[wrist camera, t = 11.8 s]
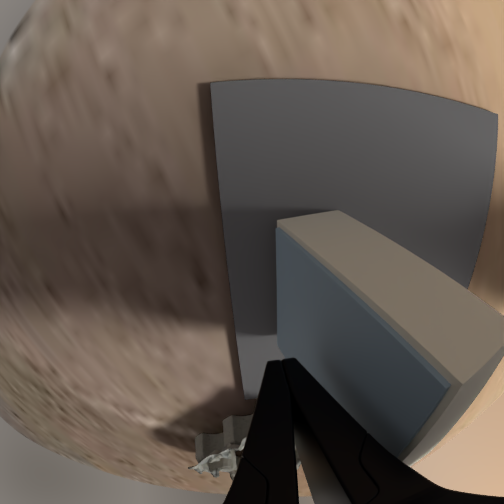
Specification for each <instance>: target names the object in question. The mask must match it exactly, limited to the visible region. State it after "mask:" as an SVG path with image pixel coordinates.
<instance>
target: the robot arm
mask: <svg viewBox="0 0 504 504" xmlns="http://www.w3.org/2000/svg"><path fill="white" fill-rule="evenodd" d="M295 446H296V449H297V452H298V455H299V458H300V461H301V464H302V467H303V470H304V473H305V477H306V480H307V483H308V486H309V489H310V492H311V495H312V498H313V500H314V503H315V504H504V497H496V496H487V495H478V494H471V493H465V492H459V491H453V490H449V489H445V488H443V487H440V486H438V485H436V484H434V483H433V482H431V481H430V480H428V479H427V478H425V477H424V476H422V475H421V474H419V473H418V472H416V471H415V470H413V469H412V468H410V467H409V466H408V465H406V464H405V463H403V462H402V461H401V460H399V459H398V458H397V457H395V456H394V455H393V454H391V453H390V452H389V451H388V450H387V449H386V448H384V447H383V446H382V445H381V444H380V443H379V442H378V441H377V440H376V439H375V438H374V437H373V436H372V435H371V434H370V433H367V431H366V430H365V429H364V428H363V427H362V426H361V425H360V424H359V423H358V422H357V421H356V420H355V419H354V418H353V417H352V416H351V415H350V414H349V413H348V412H347V411H346V410H345V409H344V408H343V407H342V406H341V405H340V404H339V403H338V402H337V401H336V400H335V399H334V398H333V397H332V395H331V394H330V393H329V392H328V391H327V390H326V389H325V388H324V387H323V386H322V385H321V384H320V383H319V382H318V381H317V380H316V379H315V378H314V377H313V376H312V375H311V374H310V373H309V372H308V371H307V369H306V368H305V367H304V366H303V365H302V364H301V363H300V362H299V361H298V360H297V359H296V358H294V357H292V358H285V359H282V360H271V361H267V363H266V367H265V371H264V375H263V379H262V383H261V386H260V390H259V394H258V398H257V402H256V405H255V409H254V413H253V416H252V420H251V424H250V427H249V431H248V434H247V438H246V441H245V445H244V448H243V452H242V455H241V456H242V457H241V458H240V461H239V465H238V468H237V471H236V474H235V477H234V480H233V482H232V485H231V487H230V490H229V492H228V494H227V496H226V498H225V501H224V503H223V504H299V496H298V480H297V465H296V451H295Z"/></svg>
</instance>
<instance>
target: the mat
mask: <svg viewBox="0 0 504 504" xmlns="http://www.w3.org/2000/svg"><path fill="white" fill-rule="evenodd" d="M210 86H211V100H212V113H213V125H214V137H215V148H216V160H217V171H218V181H219V191H220V202H221V211H222V221H223V231H224V240H225V249H226V258H227V267H228V275H229V284H230V292H231V300H232V308H233V316H234V324H235V332H236V340H237V347H238V355H239V362H240V369H241V376H242V383H243V390H244V397H245V400H246V399H255V398H258V394H259V390H260V386H261V383H262V379H263V375H264V371H265V367H266V363H267V361H271V360H282V359H285V357H284V355H283V354H282V352H281V350H280V349H279V347H278V345H277V276H276V228H277V220H280V219H286V218H292V217H298V216H304V215H310V214H316V213H322V212H328V211H334V210H339V211H341V212H343V213H345V214H347V215H349V216H350V217H352V218H354V219H356V220H357V221H359V222H361V223H363V224H365V225H366V226H368V227H370V228H372V229H373V230H375V231H377V232H378V233H380V234H382V235H383V236H385V237H387V238H389V239H390V240H392V241H394V242H395V243H397V244H399V245H400V246H402V247H403V248H405V249H407V250H408V251H410V252H412V253H413V254H415V255H416V256H418V257H419V258H421V259H423V260H424V261H426V262H427V263H429V264H430V265H432V266H434V267H435V268H437V269H438V270H440V271H441V272H443V273H444V274H446V275H447V276H449V277H450V278H452V279H453V280H455V281H456V282H457V283H459V284H460V285H462V286H463V287H465V288H466V289H468V286H469V283H470V280H471V277H472V274H473V271H474V267H475V264H476V261H477V257H478V253H479V250H480V246H481V242H482V238H483V234H484V229H485V225H486V220H487V215H488V210H489V205H490V199H491V193H492V186H493V179H494V171H495V162H496V151H497V135H498V114H495V113H493V112H490V111H487V110H484V109H480V108H477V107H474V106H471V105H467V104H464V103H460V102H457V101H453V100H449V99H445V98H441V97H437V96H433V95H428V94H424V93H419V92H414V91H409V90H403V89H397V88H391V87H385V86H378V85H370V84H362V83H352V82H341V81H328V80H307V79H259V80H238V81H224V82H213V83H210Z"/></svg>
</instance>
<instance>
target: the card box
mask: <svg viewBox="0 0 504 504" xmlns="http://www.w3.org/2000/svg"><path fill="white" fill-rule="evenodd" d="M276 276H277V345H278V347H279V349H280V350H281V352H282V354H283V355H284V357H285V358H292V357H294V358H296V359H297V360H298V361H299V362H300V363H301V364H302V365H303V366H304V367H305V368H306V369H307V371H308V372H309V373H310V374H311V375H312V376H313V377H314V378H315V379H316V380H317V381H318V382H319V383H320V384H321V385H322V386H323V387H324V388H325V389H326V390H327V391H328V392H329V393H330V394H331V395H332V397H333V398H334V399H335V400H336V401H337V402H338V403H339V404H340V405H341V406H342V407H343V408H344V409H345V410H346V411H347V412H348V413H349V414H350V415H351V416H352V417H353V418H354V419H355V420H356V421H357V422H358V423H359V424H360V425H361V426H362V427H363V428H364V429H365V430H366V431H367V433H370V434H371V435H372V436H373V437H374V438H375V439H376V440H377V441H378V442H379V443H380V444H381V445H382V446H383V447H384V448H386V449H387V450H388V451H389V452H390V453H391V454H393V455H394V456H395V457H397V458H398V459H399V460H401V461H402V462H403V463H405V464H406V465H408V466H409V467H410V466H412V465H413V464H414V463H416V462H417V461H419V460H420V459H421V458H423V457H424V456H425V455H427V454H428V453H429V452H430V451H431V450H432V449H433V448H434V447H435V446H436V445H437V444H438V443H439V442H440V441H441V440H442V439H443V438H444V436H445V435H446V434H447V433H448V432H449V431H450V430H451V428H452V427H453V426H454V425H455V424H456V423H457V421H458V420H459V419H460V418H461V416H462V415H463V414H464V413H465V411H466V410H467V409H468V408H469V406H470V405H471V404H472V402H473V401H474V400H475V398H476V397H477V395H478V394H479V393H480V391H481V390H482V388H483V387H484V386H485V384H486V383H487V381H488V380H489V378H490V377H491V375H492V374H493V372H494V370H495V369H496V367H497V366H498V364H499V362H500V361H501V359H502V358H503V356H504V316H503V315H502V314H501V313H499V312H498V311H497V310H495V309H494V308H493V307H491V306H490V305H488V304H487V303H486V302H484V301H483V300H482V299H480V298H479V297H477V296H476V295H475V294H473V293H472V292H470V291H469V290H468V289H466V288H465V287H463V286H462V285H460V284H459V283H457V282H456V281H455V280H453V279H452V278H450V277H449V276H447V275H446V274H444V273H443V272H441V271H440V270H438V269H437V268H435V267H434V266H432V265H430V264H429V263H427V262H426V261H424V260H423V259H421V258H419V257H418V256H416V255H415V254H413V253H412V252H410V251H408V250H407V249H405V248H403V247H402V246H400V245H399V244H397V243H395V242H394V241H392V240H390V239H389V238H387V237H385V236H383V235H382V234H380V233H378V232H377V231H375V230H373V229H372V228H370V227H368V226H366V225H365V224H363V223H361V222H359V221H357V220H356V219H354V218H352V217H350V216H349V215H347V214H345V213H343V212H341V211H339V210H334V211H328V212H322V213H316V214H310V215H304V216H298V217H292V218H286V219H280V220H277V228H276Z"/></svg>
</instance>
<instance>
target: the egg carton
mask: <svg viewBox="0 0 504 504" xmlns="http://www.w3.org/2000/svg"><path fill="white" fill-rule="evenodd" d="M252 416H253V414H252V415H248V416H235V415H231V416H229V417H227V418H226V419H224V420H223V433H219V434H205V433H201V434H199V435H197V436H196V437H195V446H196V459H197V461H198V465H196V466H192V467H188V469H194V470H196V471H197V472H198V473H200V474H202V472H203V471H206V472H209V473H211V474H212V475H213V476H214V477H219V471H223V472H229V473H230V477H231V479H232V480H234V477H235V474H236V471H237V468H238V465H239V461H240V458H241V457H239V456H236V454H235V451H238V450H239V451H241V450H242V449H243V448H244V445H245V441H246V438H247V434H248V431H249V427H250V424H251V420H252ZM232 448H233V449H232ZM295 451H296V465H297V469H298V468H299V466H300V464H301V461H300V458H299V455H298V452H297V449H296V446H295Z"/></svg>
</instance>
